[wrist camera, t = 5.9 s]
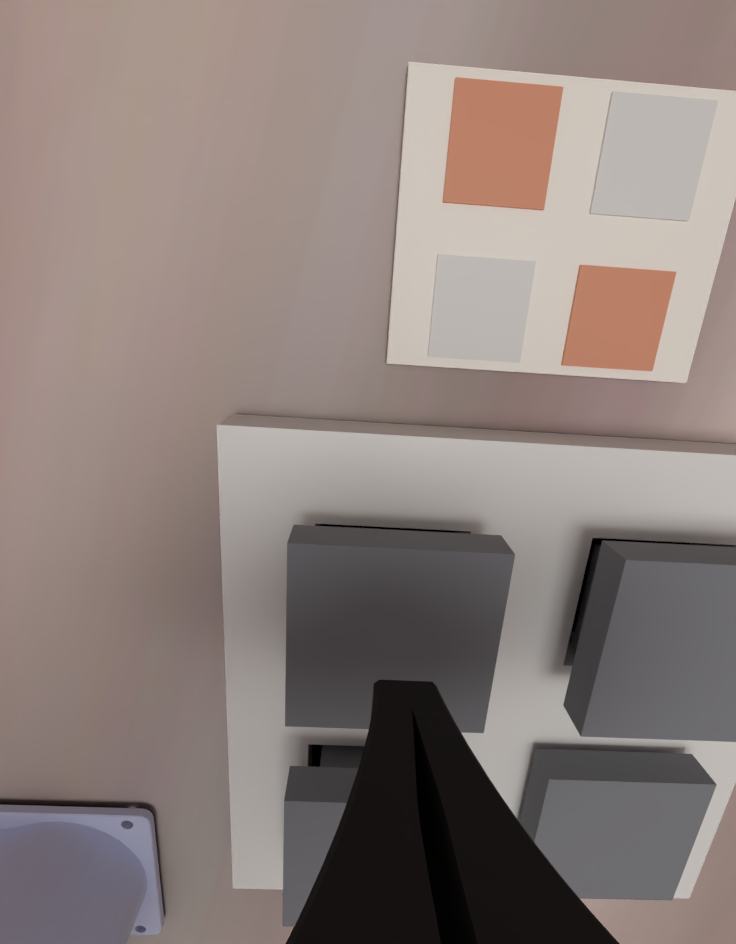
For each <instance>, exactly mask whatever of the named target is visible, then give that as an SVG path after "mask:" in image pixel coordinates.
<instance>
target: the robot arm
mask: <svg viewBox="0 0 736 944" xmlns="http://www.w3.org/2000/svg"><path fill="white" fill-rule="evenodd" d="M163 924H164V913H163V903H162V894H161V884H160V874H159V865H158V855H157V845H156V836H155V826H154V817H153V814H152V813H151V812H150V811H149V810H147V809H142V808H108V807H72V806H36V805H0V944H127V941H128V939H129V936H130V935H156V934H158V933H160V931H161V930H162V927H163ZM286 944H619V943H618V942H617V941H616V939H615V938H614V937H613V936H612V935H611V934H610V933H609V932H608V931H607V929H606V928H605V927H604V926H603V925H602V924H601V923H600V922H599V921H598V919H597V918H596V917H595V916H594V915H593V914H592V913H591V912H590V910H589V909H588V908H587V907H586V906H585V905H584V903H583V902H582V901H581V900H580V899H579V897H578V896H577V895H576V894H575V893H574V891H573V890H572V889H571V888H570V887H569V885H568V884H567V883H566V882H565V880H564V879H563V878H562V877H561V876H560V874H559V873H558V872H557V871H556V869H555V868H554V867H553V866H552V864H551V863H550V862H549V860H548V859H547V858H546V857H545V855H544V854H543V853H542V852H541V850H540V849H539V848H538V846H537V845H536V844H535V842H534V841H533V840H532V838H531V837H530V836H529V834H528V833H527V832H526V830H525V829H524V828H523V826H522V825H521V824H520V822H519V821H518V819H517V818H516V817H515V815H514V814H513V812H512V811H511V809H510V808H509V807H508V805H507V804H506V802H505V801H504V799H503V798H502V797H501V795H500V794H499V792H498V791H497V789H496V788H495V786H494V785H493V783H492V782H491V780H490V779H489V777H488V776H487V774H486V772H485V771H484V769H483V768H482V766H481V764H480V763H479V761H478V760H477V758H476V756H475V755H474V753H473V752H472V750H471V748H470V747H469V745H468V743H467V742H466V740H465V738H464V737H463V735H462V733H461V731H460V730H459V728H458V726H457V724H456V723H455V721H454V719H453V717H452V715H451V714H450V712H449V710H448V708H447V706H446V704H445V702H444V700H443V698H442V696H441V694H440V692H439V690H438V688H437V686H436V685H435V684H434V683H433V682H429V681H404V680H378V681H376V682H375V683H374V686H373V698H372V710H371V721H370V726H369V731H368V735H367V738H366V742H365V746H364V750H363V754H362V757H361V761H360V765H359V768H358V771H357V774H356V777H355V780H354V783H353V786H352V789H351V792H350V795H349V798H348V801H347V804H346V807H345V810H344V812H343V815H342V818H341V820H340V823H339V826H338V828H337V831H336V833H335V836H334V838H333V841H332V843H331V846H330V848H329V850H328V853H327V855H326V858H325V860H324V863H323V865H322V867H321V869H320V872H319V874H318V876H317V878H316V881H315V883H314V885H313V887H312V890H311V892H310V894H309V896H308V898H307V901H306V903H305V905H304V907H303V909H302V911H301V914H300V916H299V918H298V920H297V922H296V924H295V926H294V928H293V930H292V932H291V934H290V936H289V938H288V940H287V942H286Z"/></svg>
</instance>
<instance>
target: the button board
mask: <svg viewBox="0 0 736 944" xmlns="http://www.w3.org/2000/svg"><path fill="white" fill-rule="evenodd" d="M217 449H218V477H219V505H220V534H221V562H222V590H223V619H224V647H225V676H226V704H227V732H228V761H229V789H230V817H231V846H232V874H233V889H280V890H283V844H284V798H285V792H286V786H287V780H288V774H289V768H290V766H309V767H311V764H312V744H313V745H343V746H365V742H366V738H367V735H368V731H369V729H348V728H319V727H290V726H285V678H286V595H287V542H288V539H289V537H290V534H291V531H292V528H293V525H311V526H320V524H334V525H353V526H373V527H392V528H412V529H431V530H451V531H455V532H454V533H467V534H487V535H501V536H502V537H503V539H504V540H505V541H506V543H507V544H508V545H509V547H510V548H511V549H512V551H513V552H514V554H515V558H514V564H513V570H512V575H511V581H510V587H509V593H508V598H507V604H506V610H505V615H504V621H503V627H502V632H501V638H500V644H499V649H498V655H497V661H496V666H495V672H494V678H493V683H492V689H491V695H490V700H489V706H488V712H487V717H486V723H485V729H484V733H463V732H461V733H462V735H463V737H464V738H465V740H466V742H467V743H468V745H469V747H470V748H471V750H472V752H473V753H474V755H475V756H476V758H477V760H478V761H479V763H480V764H481V766H482V768H483V769H484V771H485V772H486V774H487V776H488V777H489V779H490V780H491V782H492V783H493V785H494V786H495V788H496V789H497V791H498V792H499V794H500V795H501V797H502V798H503V799H504V801H505V802H506V804H507V805H508V807H509V808H510V809H511V811H512V812H513V814H514V815H515V817H516V818H517V819H518V821H519V822H520V818H521V813H522V809H523V804H524V800H525V795H526V791H527V786H528V782H529V777H530V773H531V768H532V764H533V759H534V755H535V750H536V749H563V750H593V751H623V752H652V753H682V754H692V755H693V756H694V757H695V758H696V759H697V761H698V762H699V763H700V764H701V766H702V767H703V768H704V769H705V771H706V772H707V773H708V774H709V776H710V777H711V778H712V779H713V781H714V782H715V783H716V784H717V785H716V788H715V791H714V793H713V796H712V798H711V801H710V804H709V806H708V809H707V811H706V814H705V817H704V819H703V822H702V824H701V827H700V830H699V832H698V835H697V837H696V840H695V843H694V845H693V848H692V850H691V853H690V856H689V858H688V861H687V863H686V866H685V869H684V871H683V874H682V876H681V879H680V882H679V884H678V887H677V889H676V892H675V895H674V897H673V898H690V895H691V893H692V890H693V888H694V885H695V883H696V880H697V878H698V875H699V873H700V870H701V868H702V865H703V863H704V860H705V858H706V855H707V853H708V850H709V848H710V845H711V843H712V840H713V838H714V835H715V833H716V830H717V828H718V825H719V823H720V820H721V818H722V815H723V813H724V810H725V808H726V805H727V803H728V800H729V798H730V795H731V793H732V790H733V788H734V785H735V783H736V742H722V741H693V740H664V739H635V738H607V737H581V736H580V734H579V733H578V731H577V729H576V727H575V725H574V724H573V722H572V720H571V718H570V717H569V715H568V713H567V711H566V709H565V708H564V706H563V704H564V700H565V695H566V691H567V687H568V683H569V679H570V674H571V670H572V666H573V662H574V657H575V653H576V648H575V647H574V645H573V644H572V641H573V637H574V632H571V630H572V626H573V621H574V617H575V612H576V608H577V604H578V599H579V595H580V591H581V586H582V582H583V578H584V573H585V569H586V564H587V560H588V556H589V551H590V547H591V543H592V538H606V539H626V540H645V541H665V542H684V543H690V545H702V546H721V547H736V444H727V443H710V442H694V441H677V440H660V439H643V438H627V437H610V436H593V435H577V434H560V433H543V432H527V431H510V430H493V429H476V428H460V427H443V426H426V425H410V424H393V423H376V422H360V421H343V420H326V419H309V418H293V417H276V416H259V415H243V414H234V415H233V416H231V417H229V418H227V419H226V420H224V421H222V422H221V423H219V424H217Z"/></svg>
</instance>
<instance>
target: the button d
mask: <svg viewBox="0 0 736 944" xmlns="http://www.w3.org/2000/svg"><path fill="white" fill-rule="evenodd" d="M572 644H573V645H574V647H575V648H576V653H575V657H574V662H573V666H572V670H571V674H570V679H569V683H568V687H567V691H566V695H565V700H564V704H563V706H564V708H565V709H566V711H567V713H568V715H569V717H570V718H571V720H572V722H573V724H574V725H575V727H576V729H577V731H578V733H579V734H580V736H581V737H607V738H635V739H664V740H693V741H722V742H736V547H721V546H702V545H682V544H663V543H643V542H624V541H604V540H602V543H601V545H598V544H595V546H594V550H593V555H592V559H591V563H590V568H589V572H588V576H587V581H586V585H585V589H584V593H583V598H582V602H581V606H580V611H579V615H578V619H577V624H576V628H575V632H574V637H573V641H572Z"/></svg>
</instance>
